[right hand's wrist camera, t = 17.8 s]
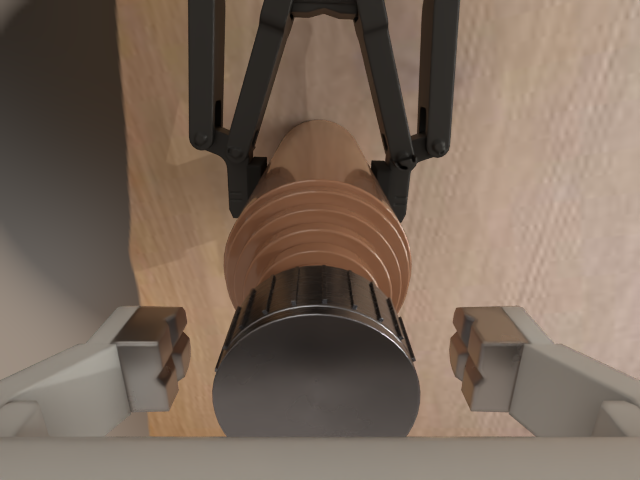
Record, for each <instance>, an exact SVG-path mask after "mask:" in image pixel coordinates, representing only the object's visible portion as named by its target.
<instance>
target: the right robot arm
mask: <svg viewBox="0 0 640 480" xmlns="http://www.w3.org/2000/svg"><path fill="white" fill-rule="evenodd" d="M186 324H187V318H186V313H185V310H184V309H183V307H155V306H142V307H141V306H121V307H118V308H117V309H116V310H115V311H114V312H113V313H112V314H111V315H110V317H109V318H108V319H107V320H106V321H105V322H104V323H103V324H102V326H101V327H100V328H99V329H98V330H97V331H96V332H95V333H94V335H93V336H92V337H91V338H90V339H89V340H88V341H87V342H86V344H77V345H75V346H73V347H71V348H69V349H66V350H64V351H62V352H60V353H58V354H56V355H54V356H51V357H49V358H47V359H45V360H43V361H41V362H39V363H36V364H34V365H32V366H30V367H28V368H26V369H24V370H21V371H19V372H17V373H15V374H13V375H11V376H9V377H6V378H4V379H2V380H0V480H640V380H638V379H636V378H634V377H631V376H629V375H627V374H625V373H623V372H621V371H619V370H616V369H614V368H612V367H610V366H608V365H606V364H604V363H601V362H599V361H597V360H595V359H593V358H591V357H589V356H586V355H584V354H582V353H580V352H578V351H576V350H574V349H571V348H569V347H567V346H565V345H563V344H554V342H553V341H552V340H551V339H550V338H549V337H548V336H547V335H546V333H545V332H544V331H543V330H542V329H541V328H540V327H539V326H538V324H537V323H536V322H535V321H534V320H533V319H532V318H531V317H530V315H529V314H528V313H527V312H526V311H525V310H524V309H523V308H522V307H520V306H497V307H460V308H456V310H455V313H454V318H453V324H454V326H455V328H456V330H457V332H456V333H455V334H454V335H453V336H452V337H451V339H450V348H449V352H450V363H451V367H452V370H453V372H454V375H455V377H456V378H458V379H459V380H461V381H462V389H461V390H462V393H463V395H464V397H465V399H466V401H467V403H468V406H469V408H470V410H471V411H482V412H509V414H510V415H511V416H512V417H513V418H514V419H516V420H517V421H518V422H519V423H520V424H522V425H523V426H524V427H525V428H526V429H528V430H529V431H530V432H531V433H532V434H534V435H535V436H536V437H104V436H105V435H106V434H108V433H109V432H110V431H111V430H112V429H114V428H115V427H116V426H117V425H118V424H120V423H121V422H122V421H123V420H125V419H126V418H127V417H128V416H129V415H130V414H131V412H157V411H169V410H170V408H171V406H172V403H173V401H174V399H175V397H176V395H177V393H178V390H179V389H178V381H179V380H181V379H182V378H184V377H185V375H186V372H187V370H188V367H189V362H190V349H191V347H190V339H189V337H188V336H187V335H186V334H185V333H184V332H183V330H184V328H185V326H186Z"/></svg>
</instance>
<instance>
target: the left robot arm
mask: <svg viewBox="0 0 640 480" xmlns="http://www.w3.org/2000/svg"><path fill="white" fill-rule="evenodd" d="M459 7H460V0H424V1H423V8H422V22H421V47H420V73H419V98H418V123H417V134H415V135H412V136H410V132H409V127H408V122H407V118H406V113H405V108H404V103H403V98H402V94H401V89H400V84H399V79H398V74H397V70H396V65H395V60H394V55H393V51H392V46H391V41H390V36H389V31H388V18H387V13H386V8H385V3H384V0H264V3H263V6H262V10H261V14H260V21H259V27H258V31H257V35H256V38H255V42H254V45H253V49H252V53H251V56H250V60H249V63H248V67H247V71H246V74H245V78H244V82H243V85H242V89H241V92H240V96H239V100H238V103H237V107H236V110H235V114H234V118H233V121H232V125H231V129H230V130H227V129H225V128H223V89H224V45H225V0H188V45H189V140H190V143H191V144H192V146H193V147H194V148H196V149H198V150H207V151H209V152H212V153H214V154H217V155H219V156H220V157H222V158H223V159H224V161H225V162H226V165H227V172H228V191H229V210H230V212H231V214H232V216H233V218H238V217H239V215H240V214H241V212H242V210H243V208H244V206H245V205H246V203H247V201H248V199H249V198H250V196H251V194H252V192H253V191H254V189H255V187H256V185H257V184H258V182H259V180H260V178H261V176H262V175H263V173H264V171H265V169H266V168H267V157H254V158H253V151H254V149H255V143H256V140H257V137H258V133H259V130H260V127H261V123H262V120H263V117H264V113H265V110H266V107H267V103H268V100H269V97H270V94H271V90H272V87H273V84H274V80H275V77H276V74H277V70H278V67H279V64H280V60H281V57H282V54H283V51H284V47H285V44H286V41H287V38H288V36H289V33H290V30H291V27H292V24H293V21H294V17H301V18H310V17H313V16H317V15H321V14H326V15H329V16H332V17H335V18H338V19H353V22H354V26H355V31H356V34H357V38H358V40H359V43H360V48H361V52H362V56H363V60H364V65H365V69H366V73H367V78H368V82H369V86H370V90H371V95H372V99H373V103H374V107H375V112H376V116H377V120H378V124H379V129H380V133H381V137H382V142H383V146H384V150H385V154H386V159H385V161H372V162H371V170H372V172H373V174H374V176H375V177H376V179H377V181H378V183H379V185H380V187H381V189H382V190H383V192H384V194H385V196H386V198H387V200H388V202H389V203H390V205H391V207H392V209H393V211H394V213H395V215H396V216H397V218H398V220H399V222H400V223H401V222H402V220H403V219H404V217H405V215H406V207H407V197H408V190H409V181H410V173H411V170H412V169H413V168H414V167H415V166H416V164H417V163H418V162H420V161H423V160H426V159H429V158H432V157H436V158H439V157H442V156H444V155H445V154H446V153H447V152H448V151H449V147H450V137H451V123H452V108H453V94H454V79H455V65H456V50H457V36H458V21H459Z"/></svg>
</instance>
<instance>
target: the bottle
mask: <svg viewBox="0 0 640 480" xmlns="http://www.w3.org/2000/svg"><path fill="white" fill-rule="evenodd" d="M313 265H321V266H322V265H326V266H332V267H337V268H342V269H345V270H351V271H352V272H354V273H356V274H358V275H360V276H362V277H364V278H366V279H367V280H369V281H370V282H371V281H373V282H374V283H375V285H376V286H377V287H378V288H379V289H381V291H382V292H383V293H384V294H385V295H386V296H387V297H388V298H389V297H390V298H391V299H392V302H393V305H394V308H395V310H396V312H397V314H398V312H399V310H400V308H401V307H402V305H403V302H404V300H405V297H406V294H407V290H408V286H409V282H410V277H411V267H412V261H411V251H410V246H409V242H408V239H407V237H406V234H405V231H404V229H403V228H402V226H401V224H400V222H399V220H398V218H397V216H396V215H395V213H394V211H393V209H392V207H391V205H390V203H389V202H388V200H387V198H386V196H385V194H384V192H383V190H382V189H381V187H380V185H379V183H378V181H377V179H376V177H375V176H374V174H373V172H372V170H371V168H370V166H369V164H368V163H367V161H366V159H365V157H364V155H363V153H362V151H361V150H360V148H359V146H358V144H357V142H356V140H355V139H354V137H353V136H352V135H351V134H350V133H349V132H348V131H347V130H346V129H345V128H343V127H342V126H340V125H338V124H336V123H334V122H331V121H327V120H311V121H307V122H304V123H301V124H299V125H297V126H296V127H294V128H293V129H292V130H290V131H289V132H288V133H287V134H286V135H285V137H284V138H283V140H282V141H281V143H280V145H279V146H278V148H277V150H276V152H275V154H274V155H273V157H272V159H271V161H270V162H269V164H268V166H267V168H266V169H265V171H264V173H263V175H262V176H261V178H260V180H259V182H258V184H257V185H256V187H255V189H254V191H253V192H252V194H251V196H250V198H249V199H248V201H247V203H246V205H245V206H244V208H243V210H242V212H241V214H240V215H239V217H238V219H237V221H236V222H235V224H234V226H233V228H232V230H231V232H230V234H229V237H228V240H227V243H226V248H225V253H224V274H225V280H226V284H227V289H228V293H229V297H230V299H231V301H232V304H233V306H234V308H235V310H236V308H237V306H241V304H242V303H243V301H244V300H245V298H246V297H247V296H248V295H249V293H250V290H251V289H252V288H255V287H257V286H258V285H259V284H260V283H262V282H263V281H265V280H266V279H268V278H270V276H271V275H273V274H274V275H276V274H278V273H280V272H282V271H285V270H289V269H292V268H295V267H297V266H299V267H302V266H313Z"/></svg>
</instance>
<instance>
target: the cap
mask: <svg viewBox="0 0 640 480" xmlns="http://www.w3.org/2000/svg"><path fill="white" fill-rule="evenodd" d="M414 361H416V360H415V357H414V354H413V351H412V348H411V345H410V342H409V339H408V336H407V333H406V330H405V327H404V324H403V321H402V318H401V317H398V314H397V312H396V310H395V308H394V305H393V302H392V299H391V298H390V297H389V298H388V297H387V296H386V295H385V294H384V293H383V292H382V291H381V289H379V288H378V287H377V286H376V285H375V283H374V282H373V281H371V282H370V281H369V280H367V279H366V278H364V277H362V276H360V275H358V274H356V273H354V272H352V271H351V270H345V269H342V268H337V267H332V266H326V265H322V266H321V265H313V266H302V267H299V266H297V267H295V268H292V269H289V270H285V271H282V272H280V273H278V274H276V275H274V274H273V275H271V276H270V278H268V279H266V280H265V281H263V282H262V283H260V284H259V285H258V286H257V287H255V288H252V289H251V290H250V293H249V295H248V296H247V297H246V298H245V300H244V301H243V303H242V304H241V306H237V308H236V311H235V314H234V317H233V319H232V322H231V325H230V328H229V331H228V333H227V336H226V339H225V342H224V345H223V348H222V351H221V354H220V356H219V359H218V362H217V365H216V368H215V372H216V375H215V378H214V383H213V390H212V395H213V406H214V411H215V414H216V417H217V420H218V423H219V425H220V426H221V428H222V430H223V432H224V433H225V435H226V436H227V437H406V436H407V435H408V433H409V432H410V430H411V428H412V426H413V424H414V422H415V419H416V417H417V414H418V410H419V405H420V385H419V380H418V376H417V373H416V370H415V367H414V364H413V362H414Z"/></svg>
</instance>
